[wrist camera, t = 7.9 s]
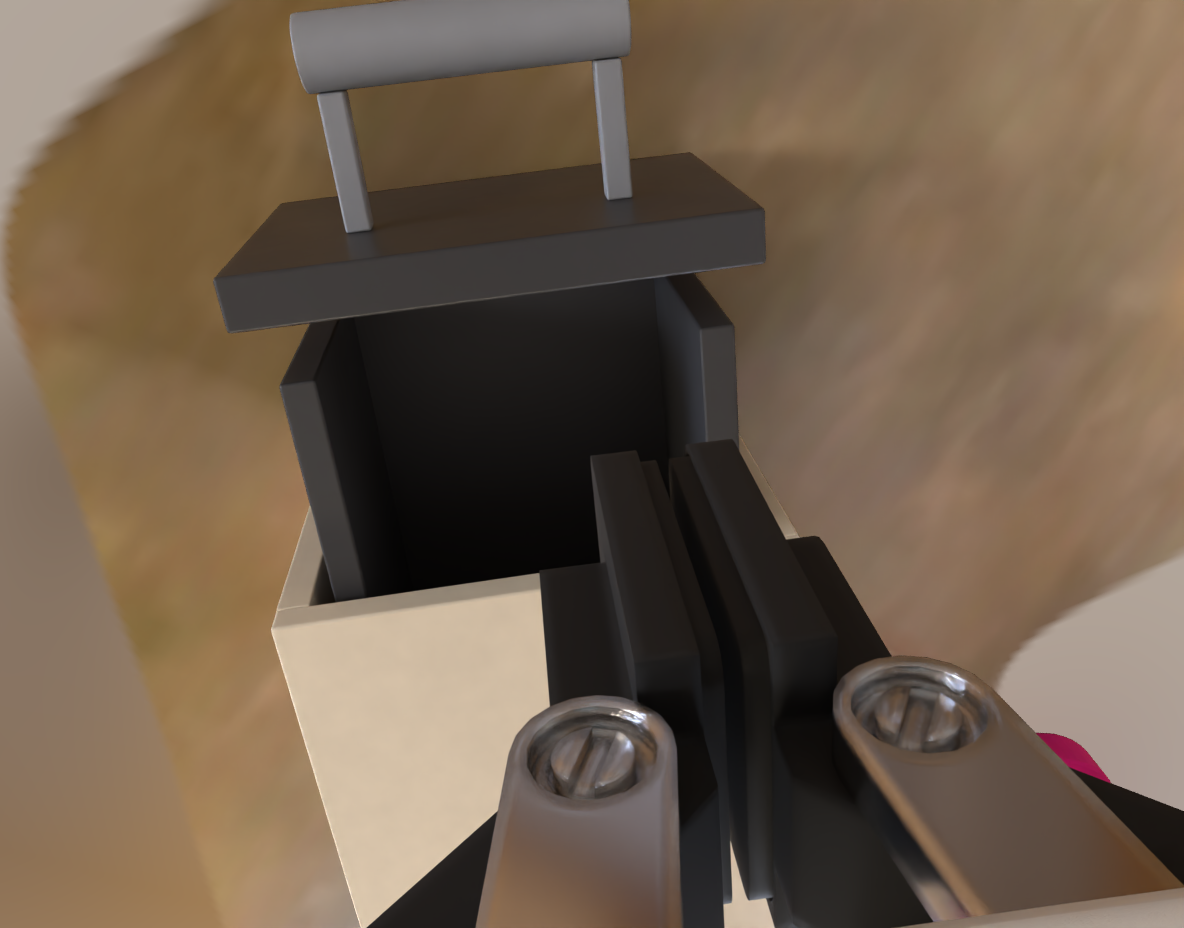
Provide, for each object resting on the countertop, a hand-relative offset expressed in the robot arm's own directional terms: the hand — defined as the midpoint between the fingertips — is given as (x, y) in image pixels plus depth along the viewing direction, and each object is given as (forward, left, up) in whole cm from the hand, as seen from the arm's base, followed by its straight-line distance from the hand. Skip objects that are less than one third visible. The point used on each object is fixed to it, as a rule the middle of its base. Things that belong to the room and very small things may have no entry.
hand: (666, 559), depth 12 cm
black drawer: (+2, +3, -18) cm, 18 cm away
